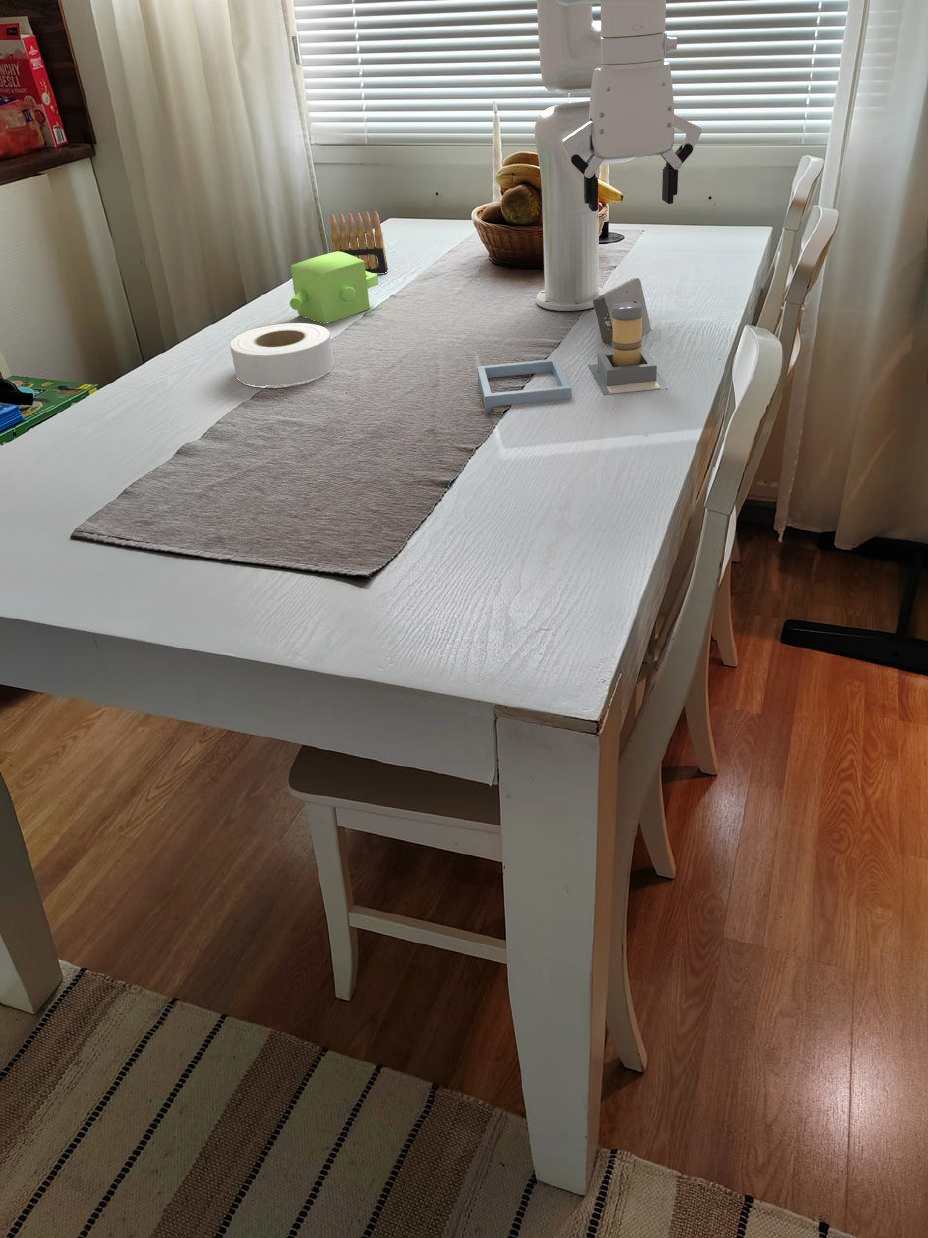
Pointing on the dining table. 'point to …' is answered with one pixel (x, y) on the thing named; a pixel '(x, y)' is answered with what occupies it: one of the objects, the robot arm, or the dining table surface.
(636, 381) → the grey square socket holder
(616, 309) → the fuse
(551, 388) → the tray
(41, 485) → the dining table surface
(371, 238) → the ammunition clip
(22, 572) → the dining table surface
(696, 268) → the dining table surface
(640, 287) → the electrical switch
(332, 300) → the gearbox
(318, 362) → the roll of tape
